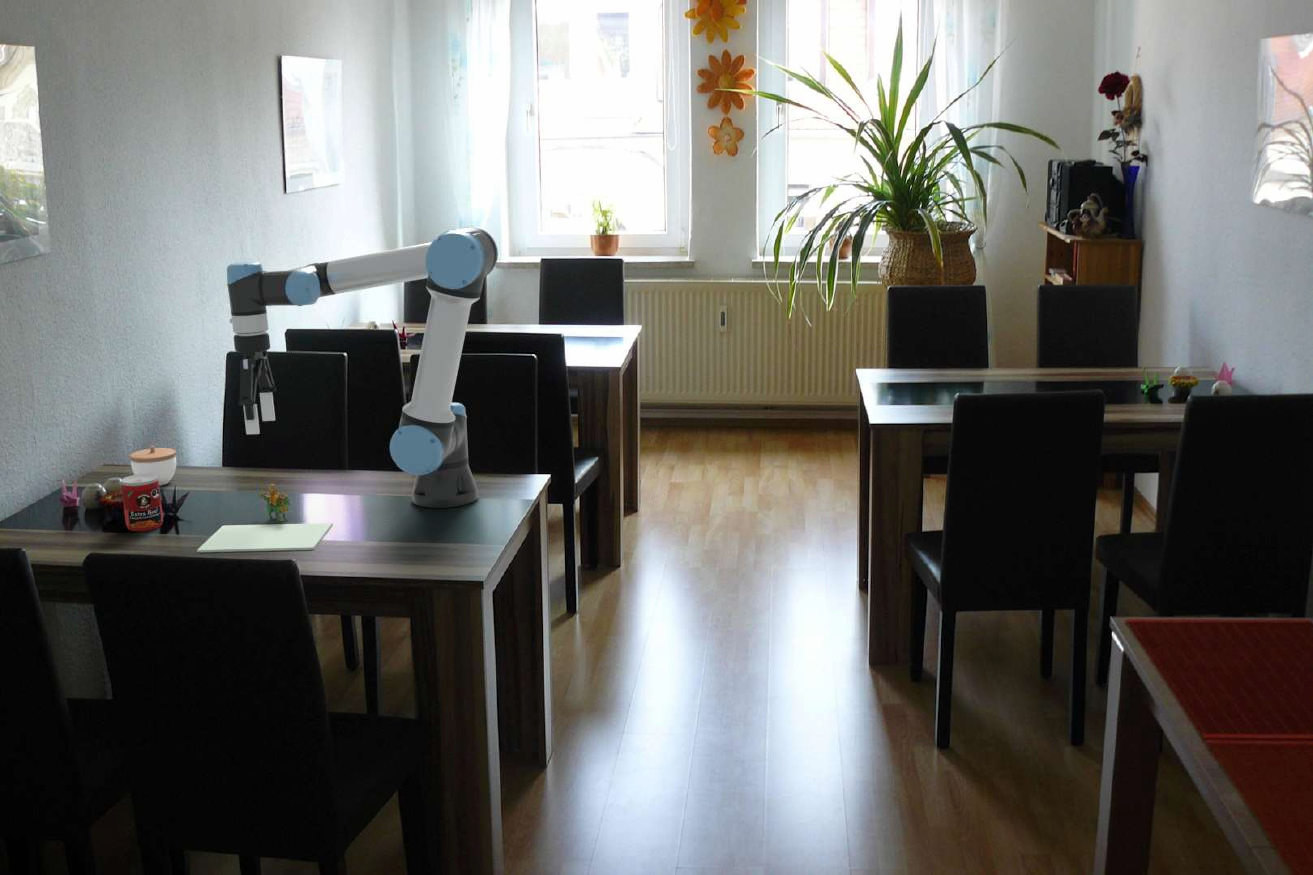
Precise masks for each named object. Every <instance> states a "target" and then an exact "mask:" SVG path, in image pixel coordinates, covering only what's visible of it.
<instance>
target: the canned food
mask: <svg viewBox="0 0 1313 875" xmlns="http://www.w3.org/2000/svg"><path fill="white" fill-rule="evenodd" d="M120 485H121V488H120V489H121V495H122V503H123V504H122V505H123V510H124V518H125V525H126V527H127V530H129V531H132V532H146V531H152V530H155V529H158V528H160V527H162V525H163V522H164V519H163V510H162V500H161V490H160V486H159V481H158V476H157V475H154V474H138V475H134V474H133V475H129V476H126V477H123V478H122V479H121V480H120Z"/></svg>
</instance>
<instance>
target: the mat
mask: <svg viewBox="0 0 1313 875" xmlns="http://www.w3.org/2000/svg"><path fill="white" fill-rule="evenodd" d="M333 526H334V525H333V522H321V523H320V522H319V523H318V522H317V523H286V524H285V523H278V524H277V523H276V524H275V523H274V524H272V523H271V524H235V525H233V524H231V525H227V524H226V525H222V526H221V527H219V529H217V530H216V532H214V533H213V534H212V535H211V536H210V537H209V538H208V539H206V541H205V542H204V543H203V544H202V545H201V546H199V547H198V549H197V550H196V552H197V553H217V552H218V553H224V552H267V551H268V552H273V551H275V552H276V551H306V550H307V551H311V550H312V551H313V550H315V549H316V547H317V546H318V545H319V544H320V542H321V541H322V540H323V539H324V537H325V536H326V535H327V533H328V532H329V531H330V530H331V528H332V527H333Z"/></svg>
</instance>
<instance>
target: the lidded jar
mask: <svg viewBox="0 0 1313 875" xmlns="http://www.w3.org/2000/svg"><path fill="white" fill-rule="evenodd" d="M176 456H177V451H176V450H175V449H173V448H170V447H167V448H166V447H155V446H154V445H151V446H150V447H149V448H145V449H141V450H137V451H135V452H134V451H133V452H132V453H130V454H129V461H130V465H131V466H130V467H131V469H132V470H131V471H132V472H133V475H138V474H154V475H157V476H158V481H159V487H160V486H163V485H167V484H169V483H170V481H171V479H172V478H173V477H174V475H175V473H176V469H177V457H176Z"/></svg>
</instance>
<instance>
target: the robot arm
mask: <svg viewBox="0 0 1313 875" xmlns="http://www.w3.org/2000/svg"><path fill="white" fill-rule="evenodd" d="M498 252H499V250H498V246H497V243H496V241H495V239H494V237H492V235H491V234H489V232H487V231H486V230H484V229H482V228H480V227H478V226H477V227H476V226H466V227H461V228H459V229H457V228H456V229H452V230H451V229H449V230H447V231H445V232H443V233H441V234H440V235H438V236H437V237H435V238H434V239H433V241H432V242H427V243H426V242H425V243H421V244H415V245H411V246H410V245H409V246H404V247H400V248H394V249H389V250H384V251H379V252H373V253H372V252H371V253H368V254H362V255H356V256H352V257H351V256H350V257H347V258H340V259H336V260H335V259H334V260H330V261H324V262H315V263H309V264H307V265H305V266H300V267H297V268H293V269H289V270H278V271H277V270H275V271H267V270H264V268H263V265H262V263H261V262H259V261H244V262H243V261H240V262H233V263H230V264H229V265H228V266H227V267H226V279H227V280H226V282H227V283H226V286H227V291H228V297H229V306H230V315H231V318H230V319H229V323H230V324H232V332H233V333H234V336H233V344H234V345H233V346H234V351H235V352H237V353H239V354H242V353H243V356H244V357H243V358H244V359H240V360H239V369H240V370H239V371H240V372H239V374H240V375H239V399H238V400H239V401H238V406H242V407H243V408H242V409H243V414H244V424H245V433H246V435H259V434H261V433H260V424H259V423H260V422H259V414H258V413H259V412H258V404H257V403H256V397H257V396H256V395H257V384H258V387H259V390H260V392H259V399H260V402H259V403H260V410H261V418H262V422H270V421H271V422H274V421H276V413H275V405H274V395H273V392H276V391H277V387H276V386H275V381H274V378H273V373H272V371H271V370H272V369H271V366H270V362H269V358H268V351H269V350H270V349H271V342H270V341H271V340H270V334H269V332H268V331H269V322H268V321H269V320H268V313H267V312H268V311H267V307H271V306H272V307H273V306H275V307H276V306H277V307H278V306H283V307H285V306H297V307H302V306H311V305H314V304H316V303H317V302H318V299H320V298H324V297H329V296H335V295H338V294H345V293H350V292H355V291H361V290H362V291H363V290H365V289H366V290H367V289H372V288H378V287H384V286H390V285H396V284H400V283H401V284H402V283H407V282H408V283H409V282H411V281H412V282H413V281H418V280H424V279H426V286H425V288H426V290H427V291H428V293H429V294H430V297H431V298H430V302H429V308H428V313H427V318H426V323H425V328H424V334H423V338H422V344H421V348H420V353H419V358H418V359H419V360H418V364H417V365H418V366H417V369H416V374H415V380H414V385H413V389H412V390H413V391H412V394H411V395H412V396H411V400H410V401H409V402H408V403H406V404H405V405H404V406H402V409H401V410H402V411H401V414H400V415H401V416H400V421H399V423H398V424H399V426H398V429H396V430H395V431H394V434H392V437H391V438H390V442H389V452H390V456H391V458H392V460H393V461H394V463H395V464H396V466H397V467H398V468H399V469H400V470H402V471H403V472H405V473H407V474H409V475H412V476H415V479H414V483H413V488H412V491H411V498H412V499H411V500H412V503H413V504H414V505H416V506H419V507H422V508H431V509H447V508H456V507H461V506H465V505H469V504H471V503H474V502H475V501H476V500H477V499H478V498H479V493H478V492H479V491H478V486H477V483H476V481H475V479H474V476H473V474H472V473H473V472H472V471H471V468H470V465H469V448H468V446H469V445H468V432H467V429H468V428H467V418H468V417H467V414H466V407H465V406H464V405H463V403H460V402H453V396H454V394H455V393H454V391H455V386H456V382H457V378H458V377H457V376H458V371H459V368H460V361H461V357H462V352H463V348H464V347H463V346H464V342H465V338H466V337H465V336H466V332H467V329H468V328H467V327H468V322H469V318H470V312H471V308H472V305H473V304H474V303H476V302H477V301H479V300H480V298H481V295H482V290H483V284H484V280H485V277H487V276H488V275H489V274H490V273H491V272H492V271H493V270H494V268H495V267H496V264H497V261H498V256H499V253H498Z"/></svg>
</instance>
